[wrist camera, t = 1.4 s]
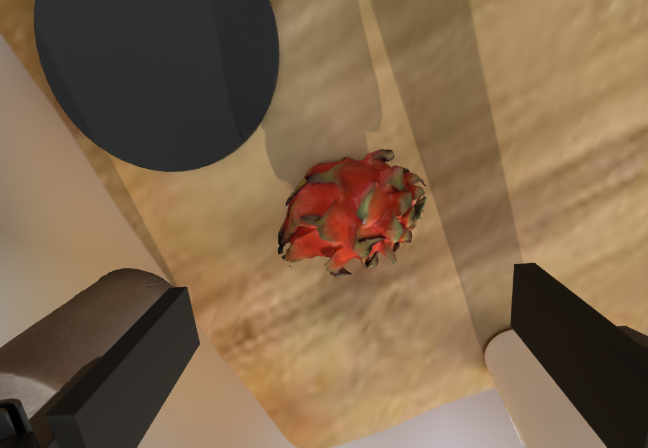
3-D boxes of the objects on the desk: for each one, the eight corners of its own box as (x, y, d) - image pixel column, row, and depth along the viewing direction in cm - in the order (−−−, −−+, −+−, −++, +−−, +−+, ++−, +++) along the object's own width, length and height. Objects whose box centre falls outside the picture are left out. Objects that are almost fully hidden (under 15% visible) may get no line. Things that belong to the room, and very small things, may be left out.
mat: (260, -115, 24) (258, -121, 23) (292, 160, 29) (291, 161, 28) (5, -78, 25) (-3, -82, 25) (80, 179, 30) (75, 181, 30)
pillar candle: (69, 286, 34) (-134, 417, 19) (160, 252, 32) (13, 367, 18) (123, 370, 36) (-22, 540, 22) (209, 341, 35) (115, 505, 20)
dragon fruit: (424, 172, 30) (301, 225, 34) (390, 96, 24) (244, 171, 28) (459, 259, 25) (310, 310, 29) (427, 192, 19) (242, 268, 23)
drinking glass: (548, 379, 34) (697, 576, 20) (473, 384, 34) (566, 578, 20) (553, 316, 32) (723, 483, 18) (474, 321, 33) (577, 488, 18)
